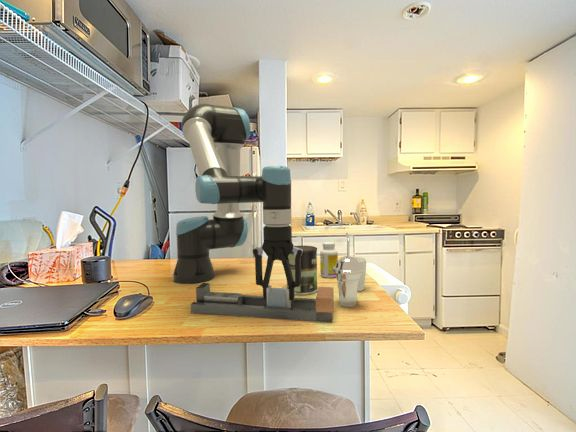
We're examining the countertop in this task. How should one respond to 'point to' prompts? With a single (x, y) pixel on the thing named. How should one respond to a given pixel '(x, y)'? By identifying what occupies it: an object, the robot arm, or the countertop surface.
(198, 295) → the silver metal slider block
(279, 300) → the block
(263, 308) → the channel
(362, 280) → the white cup
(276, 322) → the countertop surface
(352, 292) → the cup with straw
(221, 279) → the countertop surface
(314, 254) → the coffee can
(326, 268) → the supplement bottle
